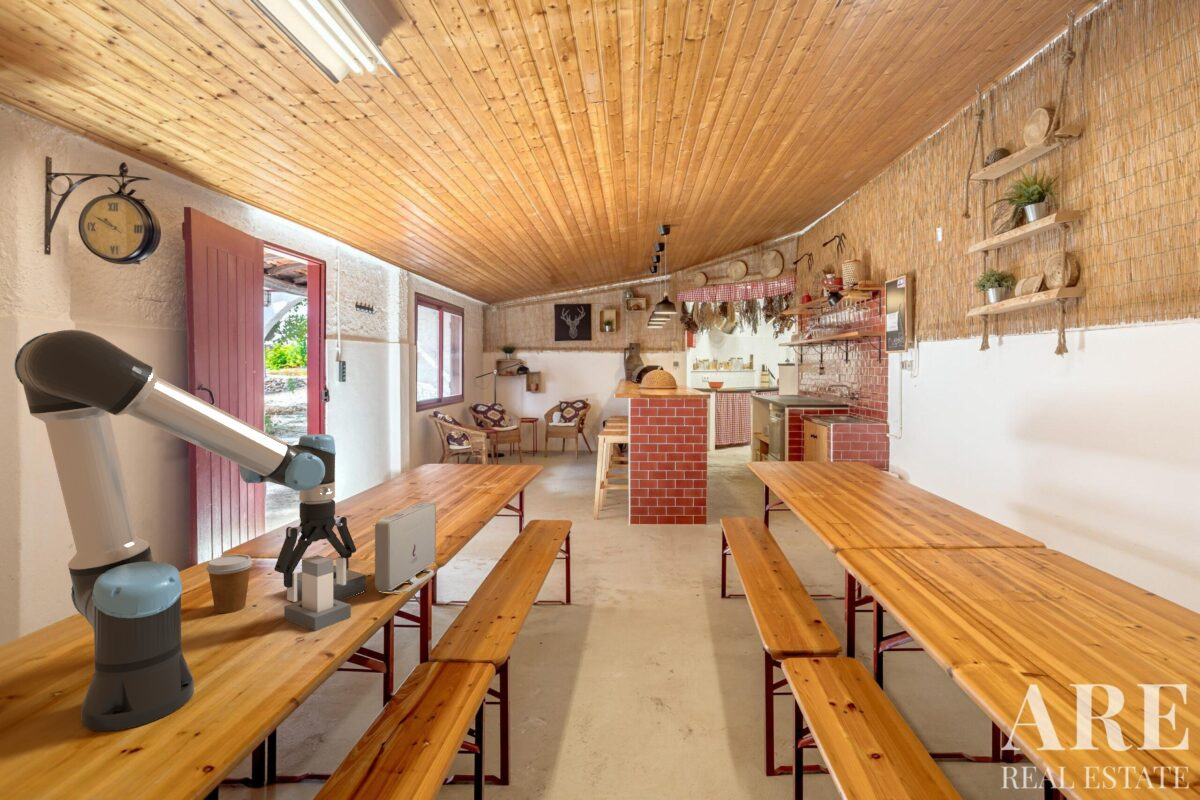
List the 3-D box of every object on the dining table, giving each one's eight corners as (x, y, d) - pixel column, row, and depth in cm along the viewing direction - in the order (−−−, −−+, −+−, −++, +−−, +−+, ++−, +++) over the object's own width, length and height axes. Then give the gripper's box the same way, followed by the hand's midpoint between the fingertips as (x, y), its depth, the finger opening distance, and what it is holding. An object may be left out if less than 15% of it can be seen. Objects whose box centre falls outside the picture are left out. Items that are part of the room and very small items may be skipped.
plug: (317, 624, 133) (317, 564, 132) (302, 618, 136) (301, 559, 135) (333, 618, 136) (333, 559, 136) (317, 612, 139) (317, 555, 139)
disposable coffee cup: (258, 608, 141) (257, 559, 141) (212, 619, 134) (212, 568, 134) (246, 597, 148) (245, 551, 147) (202, 608, 141) (201, 559, 140)
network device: (395, 600, 148) (396, 523, 147) (365, 597, 149) (365, 520, 149) (442, 568, 173) (443, 502, 172) (415, 566, 174) (416, 500, 174)
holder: (315, 631, 129) (315, 617, 129) (284, 618, 135) (284, 606, 135) (350, 617, 137) (350, 604, 137) (319, 606, 143) (319, 594, 143)
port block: (324, 606, 143) (324, 587, 143) (286, 593, 151) (286, 575, 151) (365, 591, 153) (365, 573, 153) (328, 579, 161) (328, 563, 161)
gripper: (275, 512, 123) (276, 612, 124) (371, 494, 143) (371, 579, 144) (256, 507, 127) (256, 605, 127) (352, 490, 147) (352, 574, 148)
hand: (317, 591), depth 136 cm, fingers open, 12 cm apart
